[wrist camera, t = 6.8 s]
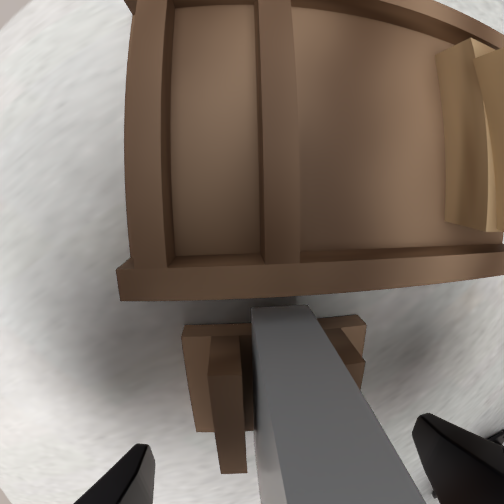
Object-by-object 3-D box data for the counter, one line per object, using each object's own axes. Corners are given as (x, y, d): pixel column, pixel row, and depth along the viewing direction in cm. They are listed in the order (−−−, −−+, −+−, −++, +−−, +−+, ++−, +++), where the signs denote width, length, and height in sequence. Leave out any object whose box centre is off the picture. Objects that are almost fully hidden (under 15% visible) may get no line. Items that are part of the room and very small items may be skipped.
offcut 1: (494, 78, 9) (529, 69, 7) (501, 222, 11) (539, 231, 8) (434, 55, 9) (470, 37, 7) (444, 221, 11) (486, 231, 8)
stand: (357, 314, 12) (395, 356, 9) (343, 405, 13) (368, 455, 10) (184, 324, 12) (170, 375, 8) (198, 417, 13) (192, 473, 9)
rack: (477, 49, 10) (508, 37, 7) (486, 259, 12) (520, 272, 10) (141, 7, 9) (125, -25, 6) (141, 277, 11) (120, 301, 9)
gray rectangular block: (307, 304, 11) (442, 533, 2) (297, 439, 12) (342, 608, 4) (251, 307, 11) (302, 578, 2) (253, 443, 12) (276, 620, 4)
